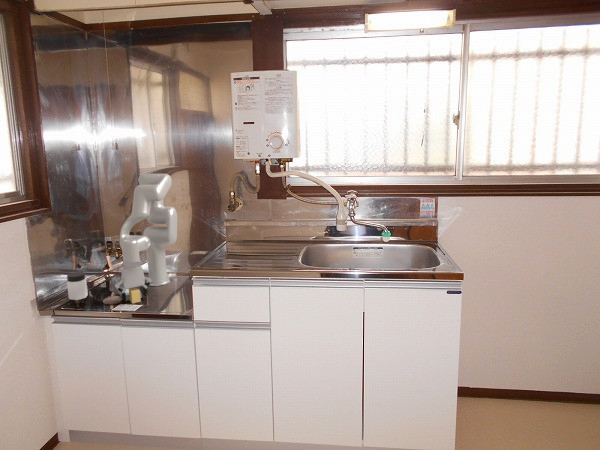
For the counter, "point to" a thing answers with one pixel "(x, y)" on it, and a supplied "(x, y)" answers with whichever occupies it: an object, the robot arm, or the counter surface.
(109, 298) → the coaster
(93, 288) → the counter surface
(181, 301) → the counter surface
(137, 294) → the stub
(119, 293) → the gray flat block
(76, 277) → the jar
